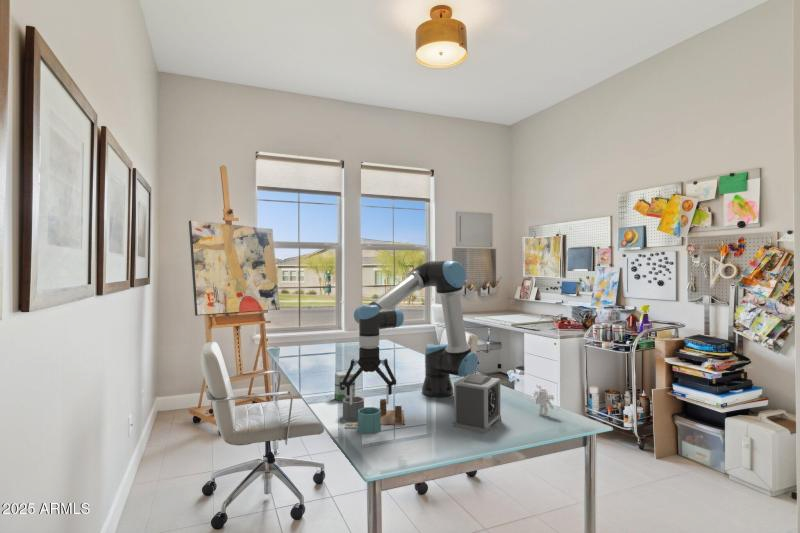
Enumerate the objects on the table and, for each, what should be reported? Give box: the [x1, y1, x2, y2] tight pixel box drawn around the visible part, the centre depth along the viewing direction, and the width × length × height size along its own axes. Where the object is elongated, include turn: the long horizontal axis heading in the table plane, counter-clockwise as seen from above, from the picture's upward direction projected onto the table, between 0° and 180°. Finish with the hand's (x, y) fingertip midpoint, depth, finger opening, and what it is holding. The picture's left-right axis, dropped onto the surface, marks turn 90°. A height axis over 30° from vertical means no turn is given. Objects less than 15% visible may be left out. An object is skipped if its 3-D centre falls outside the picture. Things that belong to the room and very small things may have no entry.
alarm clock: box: [452, 373, 502, 434], centre depth 166 cm, size 18×13×18 cm
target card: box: [343, 422, 358, 429], centre depth 163 cm, size 7×5×1 cm
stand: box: [379, 398, 406, 426], centre depth 172 cm, size 11×16×6 cm
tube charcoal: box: [342, 396, 365, 422], centre depth 173 cm, size 8×8×7 cm
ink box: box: [334, 371, 356, 402], centre depth 198 cm, size 9×5×12 cm, turn 117°
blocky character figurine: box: [533, 384, 555, 417], centre depth 175 cm, size 9×4×12 cm, turn 37°
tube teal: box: [357, 406, 382, 435], centre depth 159 cm, size 8×8×7 cm
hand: (369, 403), depth 159 cm, fingers open, 13 cm apart
